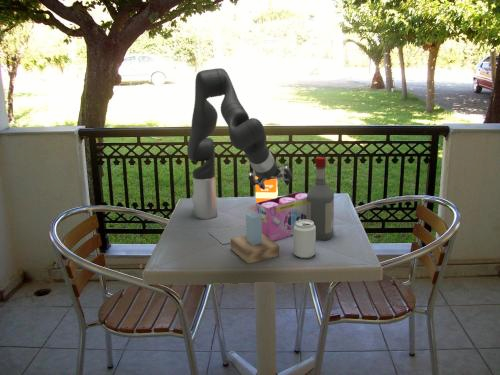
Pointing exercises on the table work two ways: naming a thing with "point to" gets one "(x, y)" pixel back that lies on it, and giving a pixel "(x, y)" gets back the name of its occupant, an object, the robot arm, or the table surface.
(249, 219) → the block
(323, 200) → the liquor
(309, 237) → the can
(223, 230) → the mat
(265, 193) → the orange juice
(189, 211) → the table surface
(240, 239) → the wooden slab
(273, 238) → the gum box
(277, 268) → the table surface
